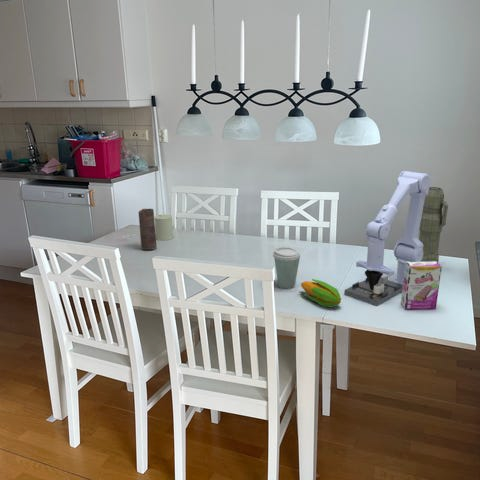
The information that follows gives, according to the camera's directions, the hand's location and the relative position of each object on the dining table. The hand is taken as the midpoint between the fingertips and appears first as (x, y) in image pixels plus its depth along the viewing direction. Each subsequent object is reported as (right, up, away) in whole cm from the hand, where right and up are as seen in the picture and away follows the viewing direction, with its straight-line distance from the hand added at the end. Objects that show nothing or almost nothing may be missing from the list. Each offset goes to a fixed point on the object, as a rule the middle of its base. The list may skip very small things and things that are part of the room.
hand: (372, 289), depth 179 cm
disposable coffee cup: (-31, 0, +12) cm, 33 cm away
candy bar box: (+14, -6, -8) cm, 17 cm away
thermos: (+30, +5, +26) cm, 40 cm away
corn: (-20, -4, -2) cm, 21 cm away
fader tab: (+2, -1, -2) cm, 2 cm away
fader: (+6, +2, +7) cm, 9 cm away
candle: (-94, +14, +58) cm, 111 cm away
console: (+2, -2, +4) cm, 5 cm away
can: (-89, +19, +75) cm, 118 cm away
